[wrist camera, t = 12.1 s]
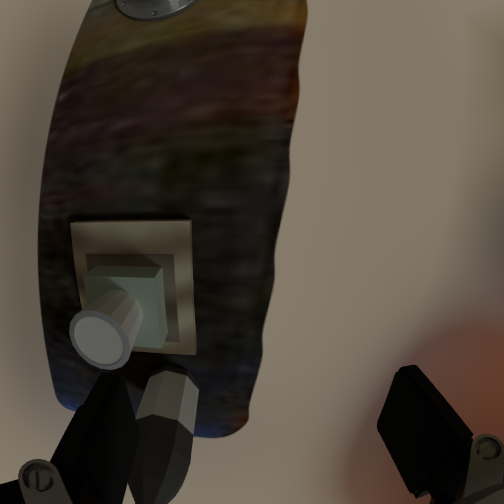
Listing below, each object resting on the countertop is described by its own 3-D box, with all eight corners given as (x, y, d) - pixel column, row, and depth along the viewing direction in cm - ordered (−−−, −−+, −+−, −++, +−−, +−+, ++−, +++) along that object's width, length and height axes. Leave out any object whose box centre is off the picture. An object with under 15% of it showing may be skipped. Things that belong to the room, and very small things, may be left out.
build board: (75, 221, 34) (70, 223, 33) (191, 219, 35) (189, 221, 34) (94, 341, 39) (90, 346, 37) (196, 348, 40) (195, 355, 38)
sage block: (96, 265, 34) (82, 275, 30) (162, 266, 35) (154, 278, 31) (106, 327, 37) (95, 342, 33) (167, 332, 37) (161, 348, 33)
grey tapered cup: (146, 342, 33) (130, 377, 26) (95, 330, 32) (72, 360, 26) (149, 290, 31) (130, 319, 25) (94, 279, 31) (66, 303, 24)
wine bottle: (210, 382, 42) (200, 573, 13) (183, 409, 43) (160, 577, 14) (164, 355, 40) (109, 549, 11) (140, 385, 41) (86, 553, 12)
